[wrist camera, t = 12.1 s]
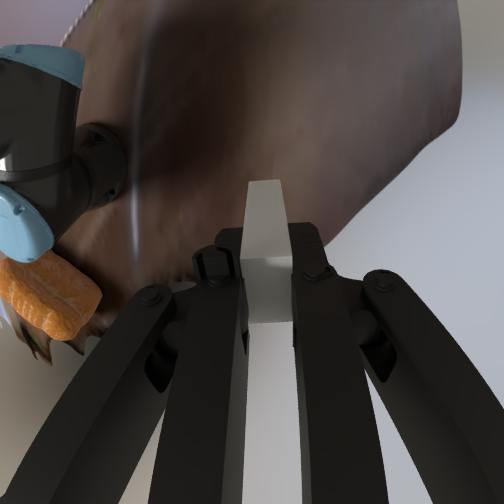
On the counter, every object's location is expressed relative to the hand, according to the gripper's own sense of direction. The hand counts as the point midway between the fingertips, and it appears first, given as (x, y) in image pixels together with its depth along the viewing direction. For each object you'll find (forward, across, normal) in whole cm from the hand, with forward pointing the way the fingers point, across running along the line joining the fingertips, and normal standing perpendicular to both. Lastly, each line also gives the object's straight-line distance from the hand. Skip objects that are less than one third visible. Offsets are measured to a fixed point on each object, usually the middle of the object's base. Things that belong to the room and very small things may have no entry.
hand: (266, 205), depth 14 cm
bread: (+30, -50, -24) cm, 63 cm away
